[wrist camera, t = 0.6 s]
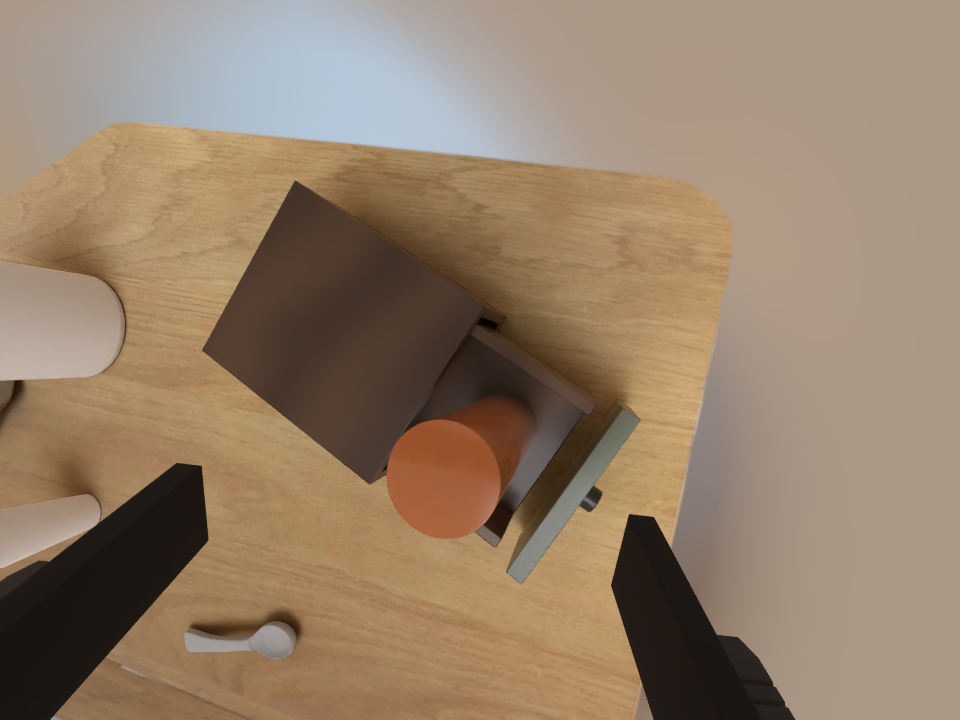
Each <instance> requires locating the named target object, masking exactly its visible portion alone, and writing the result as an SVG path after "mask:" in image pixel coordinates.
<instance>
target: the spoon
mask: <svg viewBox="0 0 960 720" xmlns="http://www.w3.org/2000/svg"><path fill="white" fill-rule="evenodd" d="M184 637H185V645H186V648H187V650H188V651H189V652H230V651H240V650H252V651H257V652H259V653H261V654H262V655H264V656H265V657H267V658H270V659H282V658H284V657H286V656H288V655H289V654H290V653H291V652H292V651H293V650H294V648H295V646H296V641H297V639H296V634H295V632H294V630H293V629H292V628H291V627H290V626H289V625H288V624H286V623H284V622H279V621H273V622H269V623H267V624H265V625H263V626H262V627H261V628H260V629H259V630H258V631H257V632H256V633H254V634H252V635H249V636H240V637H223V636H217V635H212V634H208V633H205V632H202V631H200V630H197V629H188V630H187V631H186V632H185V635H184Z"/></svg>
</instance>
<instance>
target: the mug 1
mask: <svg viewBox="0 0 960 720" xmlns="http://www.w3.org/2000/svg"><path fill="white" fill-rule="evenodd" d="M14 385H15V380H4V381H0V411H1V410H2V409H3V408H4V407H5V406H6V405H7V404H8V402H9V401H10V399H11V397H12V394H13V389H14Z"/></svg>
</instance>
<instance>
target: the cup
mask: <svg viewBox="0 0 960 720" xmlns="http://www.w3.org/2000/svg"><path fill="white" fill-rule="evenodd" d="M100 514H101V512H100V506H99V504H98V502H97V500H96V499H95V498H94V497H93V496H91V495H89V494H83V495H77V496H72V497H65V498H60V499H54V500H49V501H43V502H38V503H32V504H27V505H21V506H16V507H11V508H5V509H0V569H1V568H3V567H5V566H8V565H10V564H12V563H15V562H17V561H19V560H21V559H24V558H26V557H28V556H30V555H33V554H35V553H37V552H39V551H42V550H44V549H46V548H48V547H51V546H53V545H55V544H58V543H60V542H62V541H64V540H67V539H69V538H71V537H73V536H75V535H77V534H80V533H82V532H84V531H86V530H89V529H91V528H93V527H95V526H96V525H97V523H98V522H99V519H100Z"/></svg>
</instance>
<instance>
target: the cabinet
mask: <svg viewBox="0 0 960 720" xmlns="http://www.w3.org/2000/svg"><path fill="white" fill-rule="evenodd" d="M505 318H506V315H504V314H502V313H501V312H499V311H498V310H496V309H495V308H493V307H492V306H490V305H489V304H487V303H486V302H484V301H483V300H481V299H480V298H478V297H477V296H475V295H474V294H472V293H471V292H469V291H467V290H466V289H464V288H463V287H461V286H460V285H458V284H457V283H455V282H454V281H452V280H451V279H449V278H448V277H446V276H445V275H443V274H442V273H440V272H439V271H437V270H435V269H434V268H432V267H431V266H429V265H428V264H426V263H425V262H423V261H422V260H420V259H419V258H417V257H416V256H414V255H413V254H411V253H410V252H408V251H407V250H405V249H403V248H402V247H400V246H399V245H397V244H396V243H394V242H393V241H391V240H390V239H388V238H387V237H385V236H384V235H382V234H381V233H379V232H378V231H376V230H375V229H373V228H372V227H370V226H368V225H367V224H365V223H364V222H362V221H361V220H359V219H358V218H356V217H355V216H353V215H352V214H350V213H348V212H347V211H345V210H343V209H342V208H340V207H338V206H337V205H335V204H333V203H332V202H330V201H328V200H327V199H325V198H324V197H322V196H320V195H319V194H317V193H315V192H314V191H312V190H310V189H309V188H307V187H305V186H304V185H302V184H300V183H299V182H297V181H294V183H293V185H292V187H291V189H290V191H289V192H288V194H287V196H286V198H285V200H284V202H283V203H282V205H281V207H280V209H279V211H278V213H277V214H276V216H275V218H274V220H273V222H272V223H271V225H270V227H269V229H268V231H267V233H266V234H265V236H264V238H263V240H262V242H261V244H260V245H259V247H258V249H257V251H256V253H255V255H254V256H253V258H252V260H251V262H250V264H249V265H248V267H247V269H246V271H245V273H244V275H243V276H242V278H241V280H240V282H239V284H238V286H237V287H236V289H235V291H234V293H233V295H232V297H231V298H230V300H229V302H228V304H227V306H226V307H225V309H224V311H223V313H222V315H221V317H220V318H219V320H218V322H217V324H216V326H215V328H214V329H213V331H212V333H211V335H210V337H209V338H208V340H207V342H206V344H205V346H204V348H203V349H202V351H203V352H205V353H206V354H207V355H208V356H210V357H211V358H212V359H213V360H215V361H216V362H217V363H218V364H220V365H221V366H222V367H223V368H225V369H226V370H227V371H228V372H230V373H231V374H232V375H233V376H235V377H236V378H237V379H238V380H240V381H241V382H242V383H243V384H245V385H246V386H247V387H248V388H250V389H251V390H252V391H253V392H255V393H256V394H257V395H258V396H260V397H261V398H262V399H263V400H265V401H266V402H267V403H268V404H270V405H271V406H272V407H273V408H275V409H276V410H277V411H278V412H280V413H281V414H282V415H283V416H285V417H286V418H287V419H288V420H290V421H291V422H292V423H293V424H295V425H296V426H297V427H298V428H300V429H301V430H302V431H303V432H305V433H306V434H307V435H308V436H310V437H311V438H312V439H313V440H315V441H316V442H317V443H318V444H320V445H321V446H322V447H323V448H325V449H326V450H327V451H328V452H330V453H331V454H332V455H333V456H335V457H336V458H337V459H338V460H340V461H341V462H342V463H343V464H345V465H346V466H347V467H348V468H350V469H351V470H352V471H353V472H355V473H356V474H357V475H358V476H360V477H361V478H362V479H363V480H365V481H366V482H367V483H368V484H372V483H374V482H375V481H377V480H378V479H380V478H382V477H383V476H385V475H387V466H388V464H387V463H388V461H389V457H390V454H391V452H392V449H393V448H394V446H395V444H396V443H397V441H398V440H399V439H400V437H401V436H402V435H403V434H404V433H405V432H406V431H408V430H409V428H410V427H411V425H412V424H413V422H414V421H415V419H416V418H417V416H418V414H419V413H420V411H421V410H422V408H423V407H424V405H425V403H426V402H427V400H428V399H429V397H430V396H431V394H432V393H433V391H434V389H435V388H436V386H437V385H438V383H439V382H440V380H441V379H442V377H443V375H444V374H445V372H446V371H447V369H448V368H449V366H450V364H451V363H452V361H453V360H454V358H455V357H456V355H457V354H458V352H459V350H460V349H461V347H462V346H463V344H464V343H465V341H466V340H467V338H468V336H469V335H470V333H471V332H472V330H473V329H474V327H475V325H476V324H477V322H478V321H479V320H481V321H482V322H484V323H485V324H487V325H488V326H490V327H491V328H493V329H494V330H496V331H498V329H499V327H500V326H501V324H502V323H503V321H504V320H505Z"/></svg>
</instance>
